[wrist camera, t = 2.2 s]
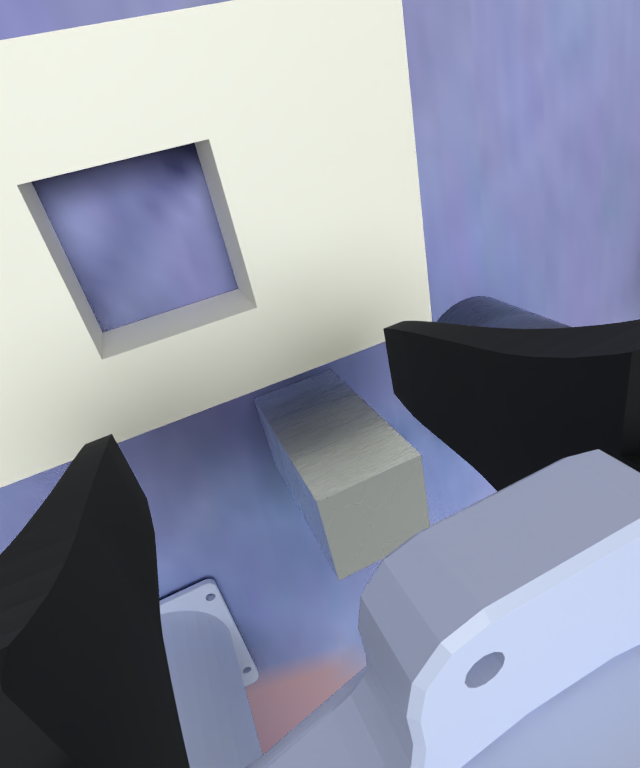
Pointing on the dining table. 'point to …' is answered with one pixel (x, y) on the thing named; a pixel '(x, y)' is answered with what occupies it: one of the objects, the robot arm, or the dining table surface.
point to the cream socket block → (231, 204)
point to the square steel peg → (344, 470)
